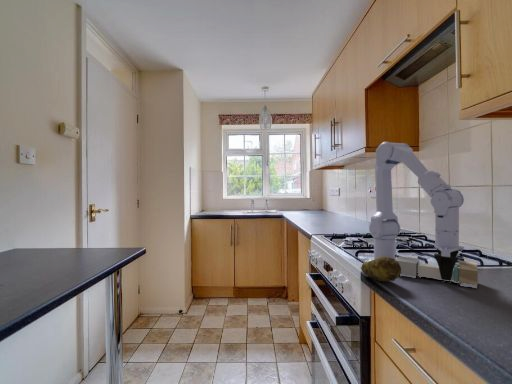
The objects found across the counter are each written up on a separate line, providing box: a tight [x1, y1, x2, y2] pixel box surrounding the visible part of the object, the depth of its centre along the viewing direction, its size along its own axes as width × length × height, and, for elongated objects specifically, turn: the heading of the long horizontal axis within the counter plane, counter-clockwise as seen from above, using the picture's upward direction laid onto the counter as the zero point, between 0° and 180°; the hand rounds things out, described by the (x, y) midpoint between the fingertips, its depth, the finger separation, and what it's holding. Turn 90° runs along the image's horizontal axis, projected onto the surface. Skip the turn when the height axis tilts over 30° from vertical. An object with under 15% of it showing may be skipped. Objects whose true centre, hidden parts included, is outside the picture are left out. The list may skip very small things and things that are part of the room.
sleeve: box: [396, 255, 420, 277], centre depth 87 cm, size 6×6×5 cm
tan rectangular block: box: [458, 260, 479, 285], centre depth 78 cm, size 7×4×6 cm, turn 143°
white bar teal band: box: [417, 262, 459, 282], centre depth 82 cm, size 5×12×4 cm, turn 53°
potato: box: [360, 257, 401, 282], centre depth 81 cm, size 8×13×8 cm, turn 178°
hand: (446, 276), depth 81 cm, fingers open, 7 cm apart
